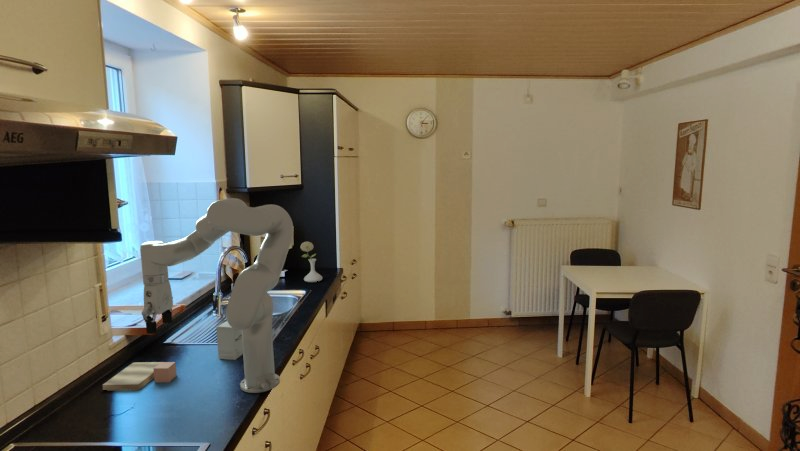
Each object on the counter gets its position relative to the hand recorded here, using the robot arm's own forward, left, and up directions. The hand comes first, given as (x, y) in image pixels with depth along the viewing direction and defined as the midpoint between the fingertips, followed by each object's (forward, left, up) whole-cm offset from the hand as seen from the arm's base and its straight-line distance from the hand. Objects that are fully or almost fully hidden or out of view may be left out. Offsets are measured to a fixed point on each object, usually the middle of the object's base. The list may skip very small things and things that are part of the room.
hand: (160, 327), depth 157 cm
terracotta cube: (0, 0, -18) cm, 18 cm away
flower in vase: (+88, -98, -18) cm, 133 cm away
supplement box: (+5, -24, -18) cm, 31 cm away
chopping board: (+7, +8, -18) cm, 21 cm away
